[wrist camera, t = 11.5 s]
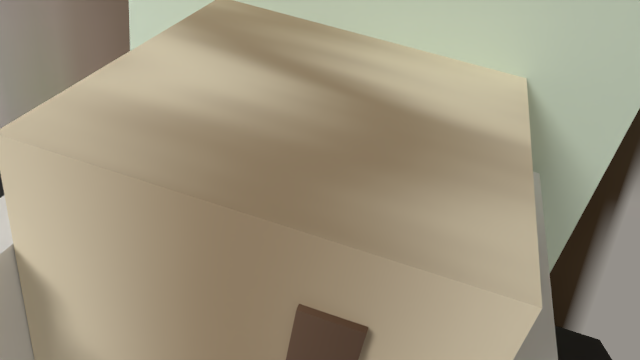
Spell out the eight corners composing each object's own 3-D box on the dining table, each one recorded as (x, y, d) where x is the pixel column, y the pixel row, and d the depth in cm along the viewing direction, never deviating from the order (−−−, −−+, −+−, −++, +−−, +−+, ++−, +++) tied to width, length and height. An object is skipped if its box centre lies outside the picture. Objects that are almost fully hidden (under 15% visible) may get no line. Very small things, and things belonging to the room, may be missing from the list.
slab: (208, -155, 13) (124, -149, 10) (658, -55, 12) (706, -16, 9) (192, 193, 19) (135, 260, 16) (494, 288, 17) (491, 380, 14)
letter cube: (204, 230, 14) (44, 443, 10) (220, -3, 11) (-14, 137, 6) (437, 306, 14) (397, 583, 9) (532, 79, 10) (554, 319, 5)
